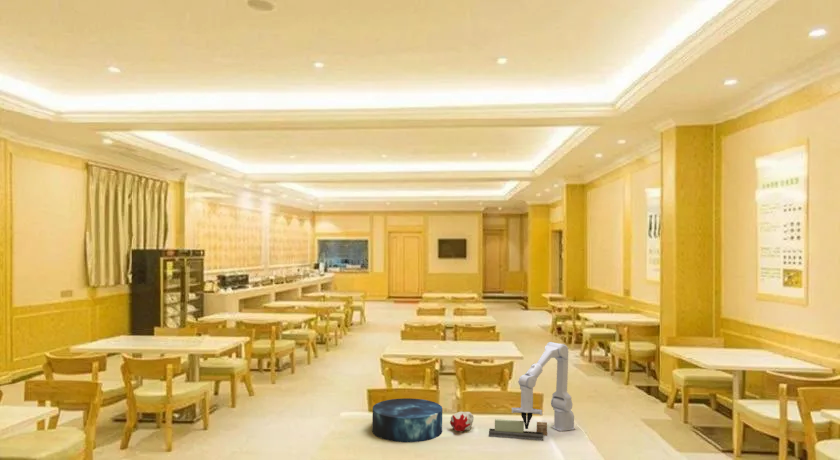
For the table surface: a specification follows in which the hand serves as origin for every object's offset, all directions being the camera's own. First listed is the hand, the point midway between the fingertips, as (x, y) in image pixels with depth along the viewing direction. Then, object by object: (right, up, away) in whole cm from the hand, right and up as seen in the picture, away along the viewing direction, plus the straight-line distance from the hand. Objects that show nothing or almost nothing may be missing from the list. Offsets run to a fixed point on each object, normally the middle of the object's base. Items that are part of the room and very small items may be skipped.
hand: (526, 428), depth 279 cm
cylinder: (-58, -5, +9) cm, 59 cm away
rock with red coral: (-31, -5, +9) cm, 33 cm away
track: (-5, -4, +2) cm, 7 cm away
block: (+9, -5, +6) cm, 12 cm away
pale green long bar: (-8, -3, +2) cm, 9 cm away
